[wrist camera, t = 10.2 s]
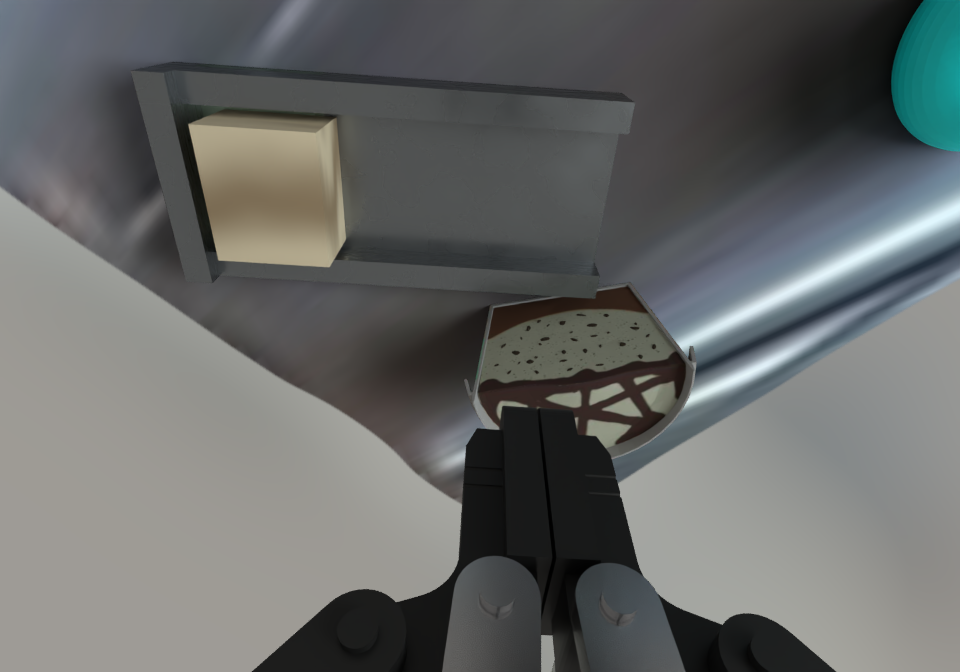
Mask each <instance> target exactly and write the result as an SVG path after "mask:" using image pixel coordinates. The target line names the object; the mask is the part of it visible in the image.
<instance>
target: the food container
mask: <svg viewBox="0 0 960 672" xmlns="http://www.w3.org/2000/svg"><path fill="white" fill-rule="evenodd" d="M695 369H696V358H695V353H694V348H693V346H690V349H689V357H688V358H687V356H686V355H685V354H684V352H683V351H682V350H681V348H680V347H679V346H678V345H677V343H676V342H675V341H674V339H673V338H672V337H671V335H670V334H669V333H668V331H667V330H666V329H665V327H664V326H663V325H662V323H661V322H660V321H659V319H658V318H657V317H656V316H655V314H654V313H653V312H652V310H651V309H650V308H649V306H648V305H647V304H646V302H645V301H644V300H643V298H642V297H641V296H640V294H639V293H638V292H637V291H636V289H635V288H634V287H633V285H632V284H631V283H630V282H629V283H623V284H617V285H611V286H605V287H598V288H597V292H596V297H595V299H591V298H575V297H559V296H542V297H536V298H530V299H524V300H518V301H511V302H505V303H499V304H493V305H490V309H489V314H488V319H487V324H486V329H485V334H484V339H483V344H482V349H481V354H480V359H479V364H478V369H477V374H476V379H475V384H474V390H473V392H472V391H471V389H470V386H469V384H468V381H467V379H465V380H464V382H465V385H466V389H467V393H468V396H469V399H470V401H471V404H472V407H473V408H474V410H475V412H476V414H477V415H478V417H479V419H480V420H481V421H482V423H483V425H484V426H485V427H486V428H487V429H495V430H499V427H500V418H501V410H502V406H516V407H532V408H536V409H538V408H549V409H564V410H572V411H573V413H574V417H575V422H576V428H577V433H578V435H589V436H597V438H598V439H599V440H600V442H601V443H602V444H603V446H604V447H605V448H606V449H607V451H608V452H609V453H610V455H611V459H614V458H617V457H620V456H623V455H625V454H628V453H630V452H632V451H635V450H637V449H639V448H640V447H642V446H644V445H646V444H647V443H649V442H651V441H652V440H653V439H655V438H656V437H657V436H659V435H660V434H661V433H662V432H663V431H665V430H666V429H667V428H668V427H669V426H670V425H671V424H672V423H673V422H674V420H675V419H676V418H677V416H678V415H679V414H680V412H681V411H682V409H683V408H684V406H685V404H686V402H687V400H688V398H689V396H690V393H691V390H692V387H693V384H694V377H695Z"/></svg>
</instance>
